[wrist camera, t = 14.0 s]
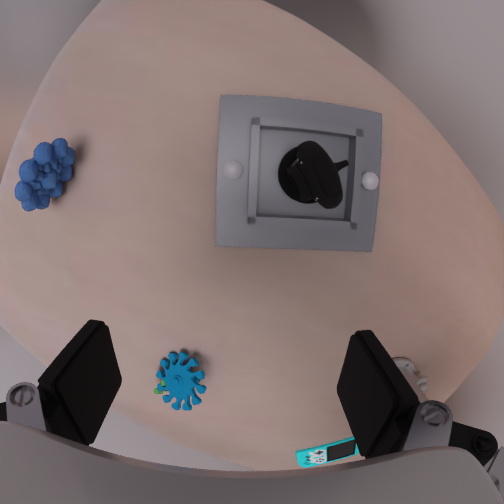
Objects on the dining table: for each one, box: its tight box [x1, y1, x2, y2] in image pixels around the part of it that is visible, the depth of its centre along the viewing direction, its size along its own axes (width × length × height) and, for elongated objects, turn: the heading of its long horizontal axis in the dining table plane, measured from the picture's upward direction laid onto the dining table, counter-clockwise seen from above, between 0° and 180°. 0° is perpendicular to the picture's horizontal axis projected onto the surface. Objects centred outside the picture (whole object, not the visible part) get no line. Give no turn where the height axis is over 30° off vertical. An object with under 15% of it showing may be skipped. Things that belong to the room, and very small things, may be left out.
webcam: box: [278, 141, 349, 209], centre depth 29 cm, size 8×8×10 cm
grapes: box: [15, 138, 75, 211], centre depth 28 cm, size 12×7×12 cm, turn 139°
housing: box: [216, 95, 382, 252], centre depth 33 cm, size 22×20×4 cm
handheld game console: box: [296, 437, 359, 467], centre depth 53 cm, size 10×16×1 cm, turn 102°
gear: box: [154, 352, 206, 410], centre depth 42 cm, size 11×6×10 cm
